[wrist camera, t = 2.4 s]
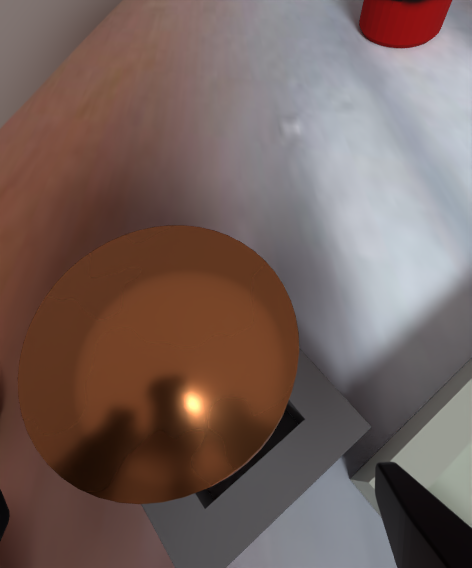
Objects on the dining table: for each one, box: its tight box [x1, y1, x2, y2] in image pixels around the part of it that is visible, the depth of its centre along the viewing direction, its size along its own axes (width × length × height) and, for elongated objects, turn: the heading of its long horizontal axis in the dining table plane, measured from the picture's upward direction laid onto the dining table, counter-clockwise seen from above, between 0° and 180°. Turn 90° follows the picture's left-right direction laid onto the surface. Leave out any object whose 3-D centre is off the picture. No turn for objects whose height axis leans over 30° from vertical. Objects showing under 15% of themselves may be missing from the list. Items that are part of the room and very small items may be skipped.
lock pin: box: [18, 225, 299, 504], centre depth 13 cm, size 6×6×13 cm
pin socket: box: [141, 348, 371, 568], centre depth 17 cm, size 10×10×3 cm
